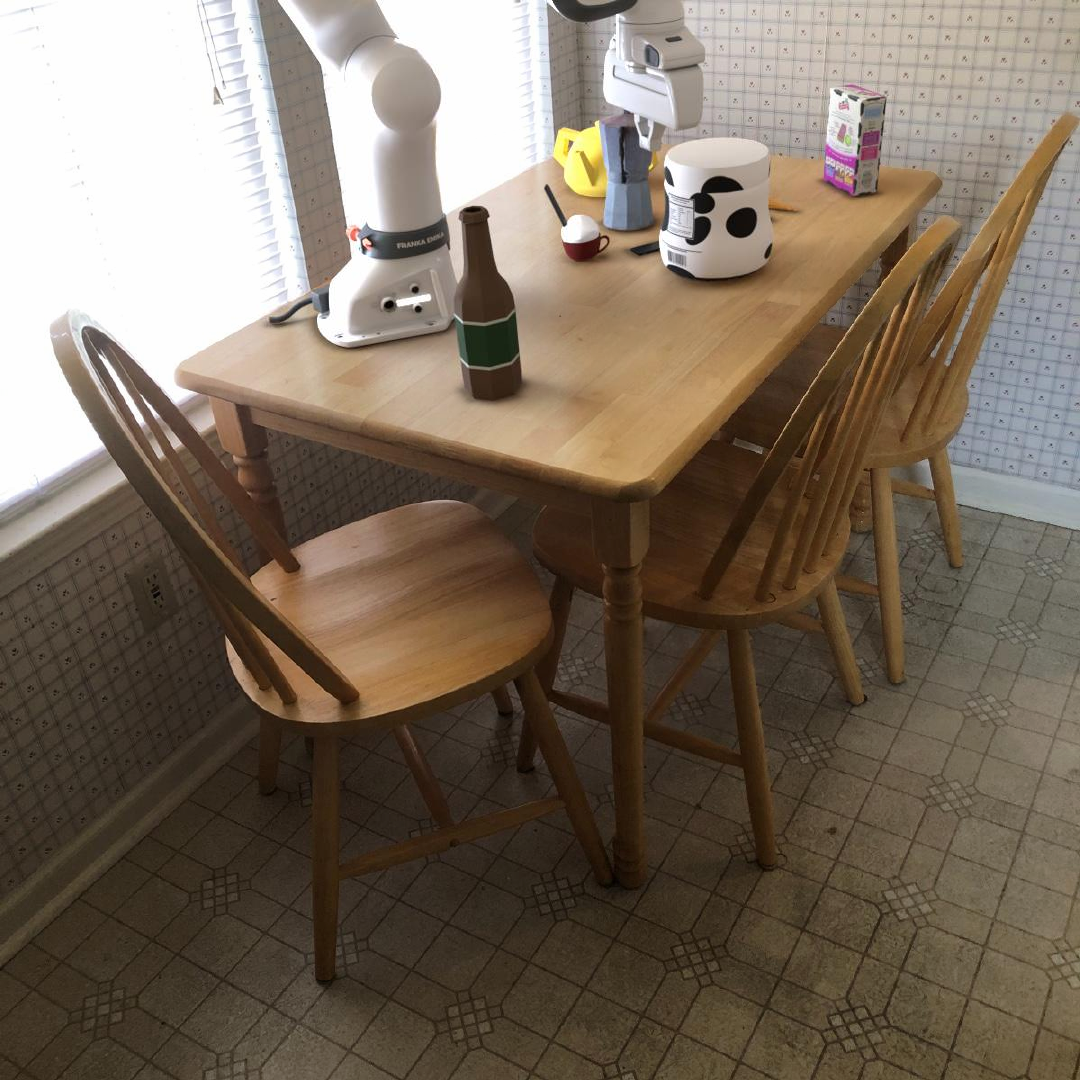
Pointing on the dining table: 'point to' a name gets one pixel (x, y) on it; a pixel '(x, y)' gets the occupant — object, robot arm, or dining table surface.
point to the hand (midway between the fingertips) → (650, 149)
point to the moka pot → (625, 174)
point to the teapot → (585, 161)
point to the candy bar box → (854, 139)
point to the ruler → (647, 248)
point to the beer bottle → (485, 315)
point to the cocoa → (578, 233)
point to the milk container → (716, 209)
